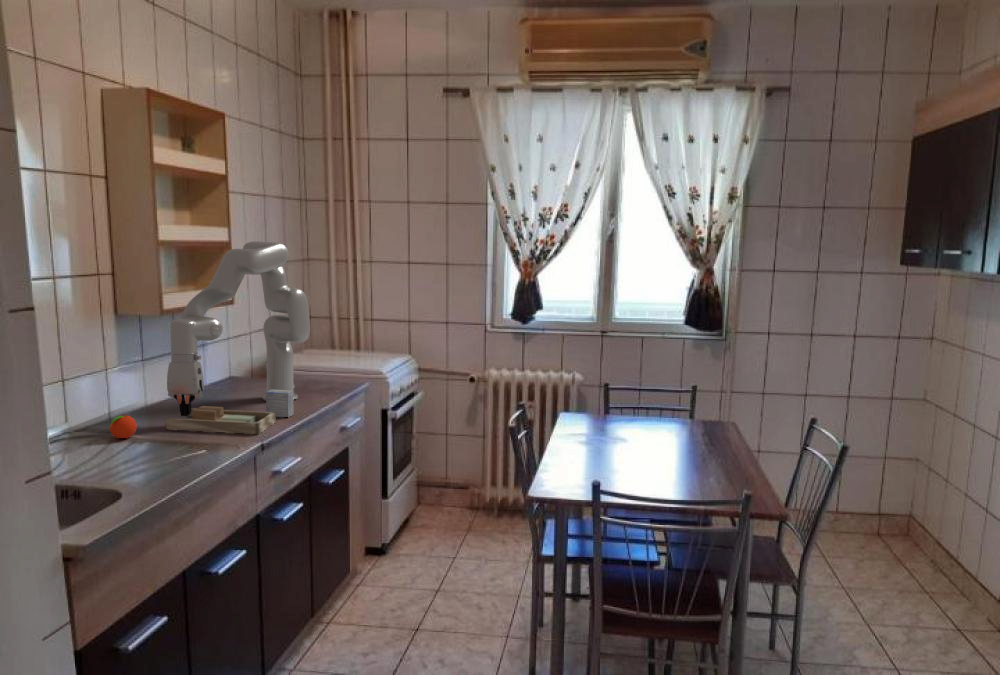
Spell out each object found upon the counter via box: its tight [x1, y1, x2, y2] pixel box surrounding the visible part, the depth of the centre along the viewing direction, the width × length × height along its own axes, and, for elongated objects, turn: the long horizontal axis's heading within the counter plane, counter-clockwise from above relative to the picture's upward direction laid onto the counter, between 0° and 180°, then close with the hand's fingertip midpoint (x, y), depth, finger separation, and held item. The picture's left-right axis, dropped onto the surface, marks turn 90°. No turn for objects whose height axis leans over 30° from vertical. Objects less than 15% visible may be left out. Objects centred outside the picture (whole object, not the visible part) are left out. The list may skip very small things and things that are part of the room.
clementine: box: [109, 414, 138, 439], centre depth 196 cm, size 8×7×7 cm
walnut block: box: [193, 405, 225, 421], centre depth 213 cm, size 6×7×3 cm
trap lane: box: [165, 407, 277, 436], centre depth 213 cm, size 14×29×4 cm, turn 87°
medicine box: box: [265, 390, 294, 419], centre depth 228 cm, size 8×4×9 cm, turn 84°
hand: (185, 415), depth 214 cm, fingers closed
